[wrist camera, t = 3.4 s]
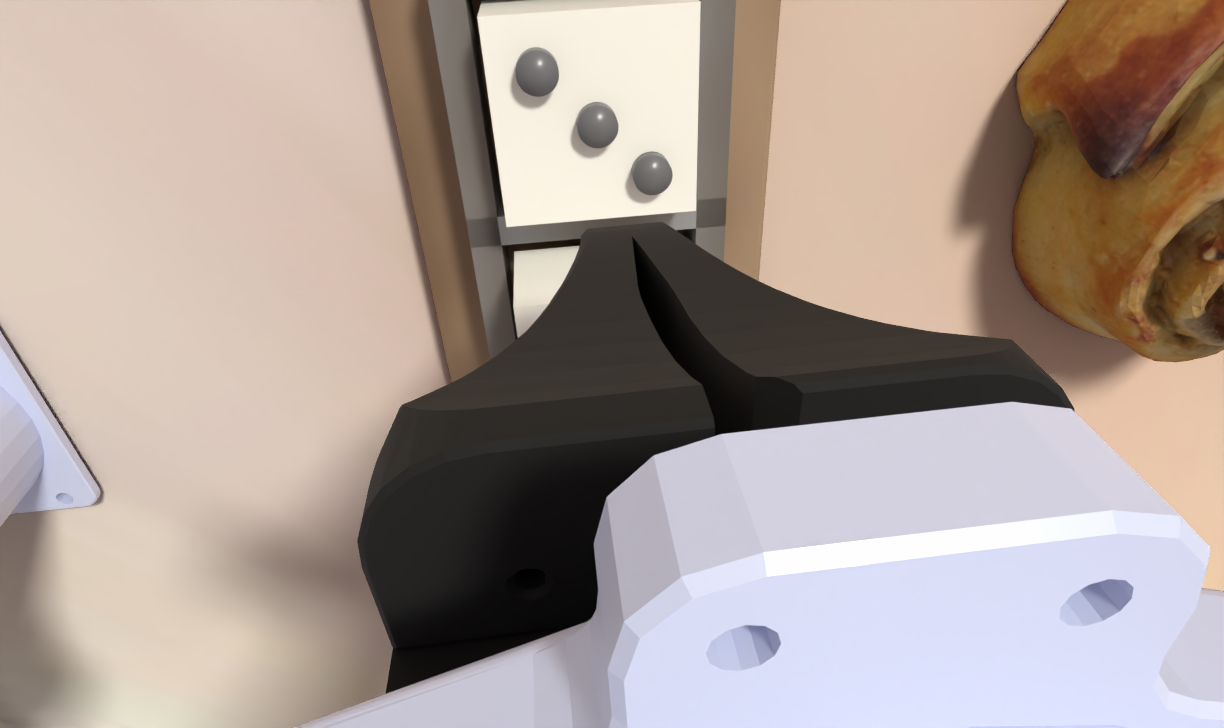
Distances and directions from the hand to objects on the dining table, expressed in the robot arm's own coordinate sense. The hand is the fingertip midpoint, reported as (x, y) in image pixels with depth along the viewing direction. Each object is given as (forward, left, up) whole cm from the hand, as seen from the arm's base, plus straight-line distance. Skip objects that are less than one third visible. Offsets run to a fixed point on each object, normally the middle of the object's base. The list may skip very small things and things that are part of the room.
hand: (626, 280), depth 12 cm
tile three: (0, +1, -9) cm, 9 cm away
